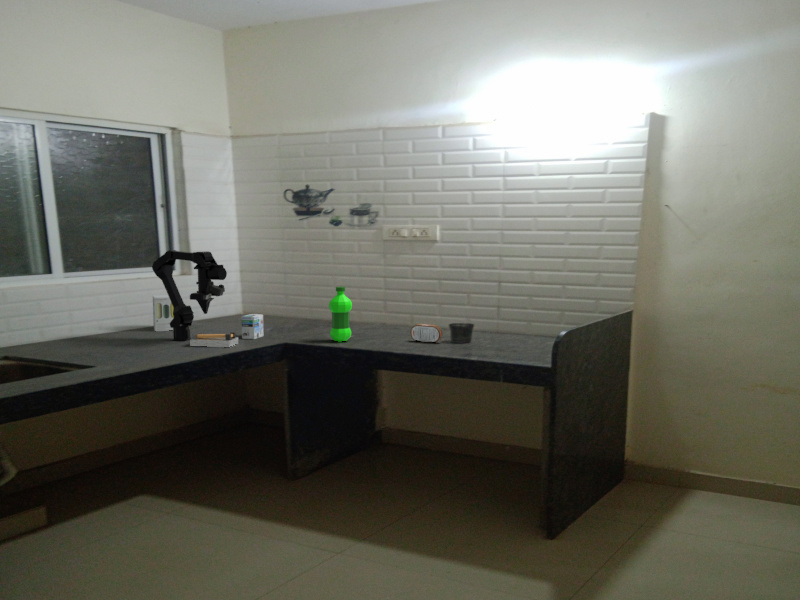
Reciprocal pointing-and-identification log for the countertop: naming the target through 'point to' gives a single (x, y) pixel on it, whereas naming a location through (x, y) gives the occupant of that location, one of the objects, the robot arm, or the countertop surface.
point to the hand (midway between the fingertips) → (205, 313)
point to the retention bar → (212, 335)
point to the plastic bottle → (340, 316)
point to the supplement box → (162, 312)
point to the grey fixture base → (214, 341)
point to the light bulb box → (252, 326)
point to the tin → (426, 332)
